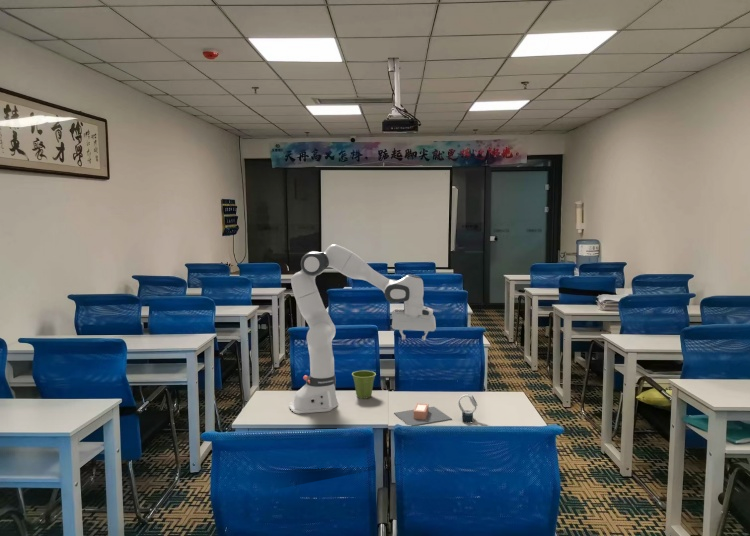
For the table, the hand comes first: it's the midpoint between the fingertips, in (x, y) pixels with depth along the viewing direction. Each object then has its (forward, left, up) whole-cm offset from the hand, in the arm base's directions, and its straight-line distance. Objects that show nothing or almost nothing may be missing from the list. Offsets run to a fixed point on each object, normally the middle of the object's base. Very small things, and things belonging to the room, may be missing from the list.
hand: (413, 339), depth 232 cm
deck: (-1, -11, -28) cm, 30 cm away
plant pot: (-18, +19, -31) cm, 40 cm away
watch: (+12, -27, -31) cm, 43 cm away
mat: (-4, -16, -30) cm, 34 cm away
